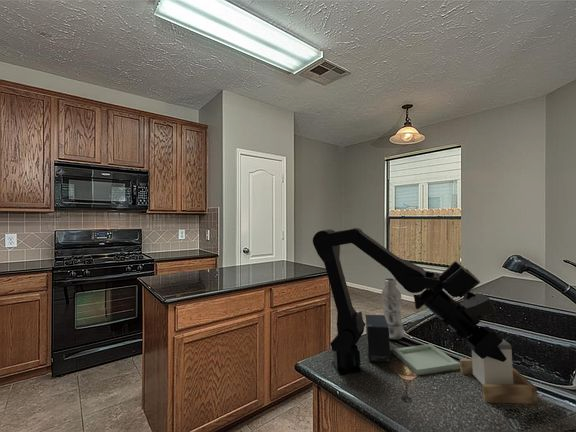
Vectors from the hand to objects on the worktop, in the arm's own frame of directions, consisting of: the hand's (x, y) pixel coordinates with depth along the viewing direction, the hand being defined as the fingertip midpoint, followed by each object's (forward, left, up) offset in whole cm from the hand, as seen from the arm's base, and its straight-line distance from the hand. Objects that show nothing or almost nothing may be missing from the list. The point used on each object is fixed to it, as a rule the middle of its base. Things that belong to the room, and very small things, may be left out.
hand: (497, 353), depth 71 cm
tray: (-9, +15, -8) cm, 20 cm away
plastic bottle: (-10, +32, -8) cm, 34 cm away
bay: (-1, 0, -8) cm, 8 cm away
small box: (-20, +23, -8) cm, 31 cm away
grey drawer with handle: (-1, 0, -7) cm, 7 cm away
